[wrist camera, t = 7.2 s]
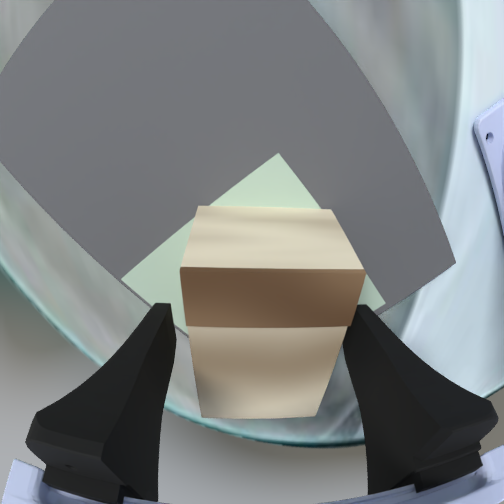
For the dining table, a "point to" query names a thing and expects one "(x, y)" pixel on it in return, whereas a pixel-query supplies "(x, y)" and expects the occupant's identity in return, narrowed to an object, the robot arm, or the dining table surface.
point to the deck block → (266, 307)
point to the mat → (209, 136)
